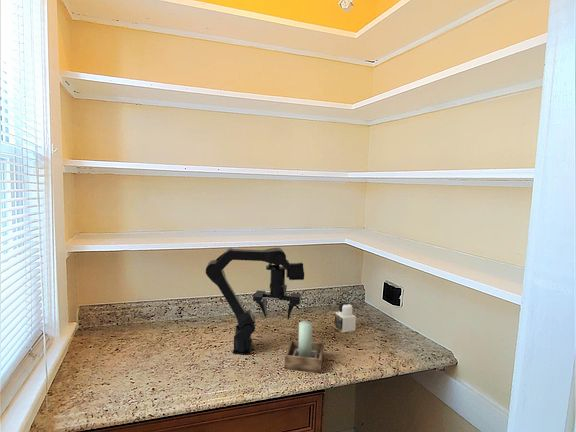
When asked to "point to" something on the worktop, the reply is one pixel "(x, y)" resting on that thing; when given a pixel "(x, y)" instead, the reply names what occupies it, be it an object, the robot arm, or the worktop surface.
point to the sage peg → (305, 339)
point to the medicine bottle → (345, 318)
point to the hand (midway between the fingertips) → (277, 318)
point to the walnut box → (304, 358)
